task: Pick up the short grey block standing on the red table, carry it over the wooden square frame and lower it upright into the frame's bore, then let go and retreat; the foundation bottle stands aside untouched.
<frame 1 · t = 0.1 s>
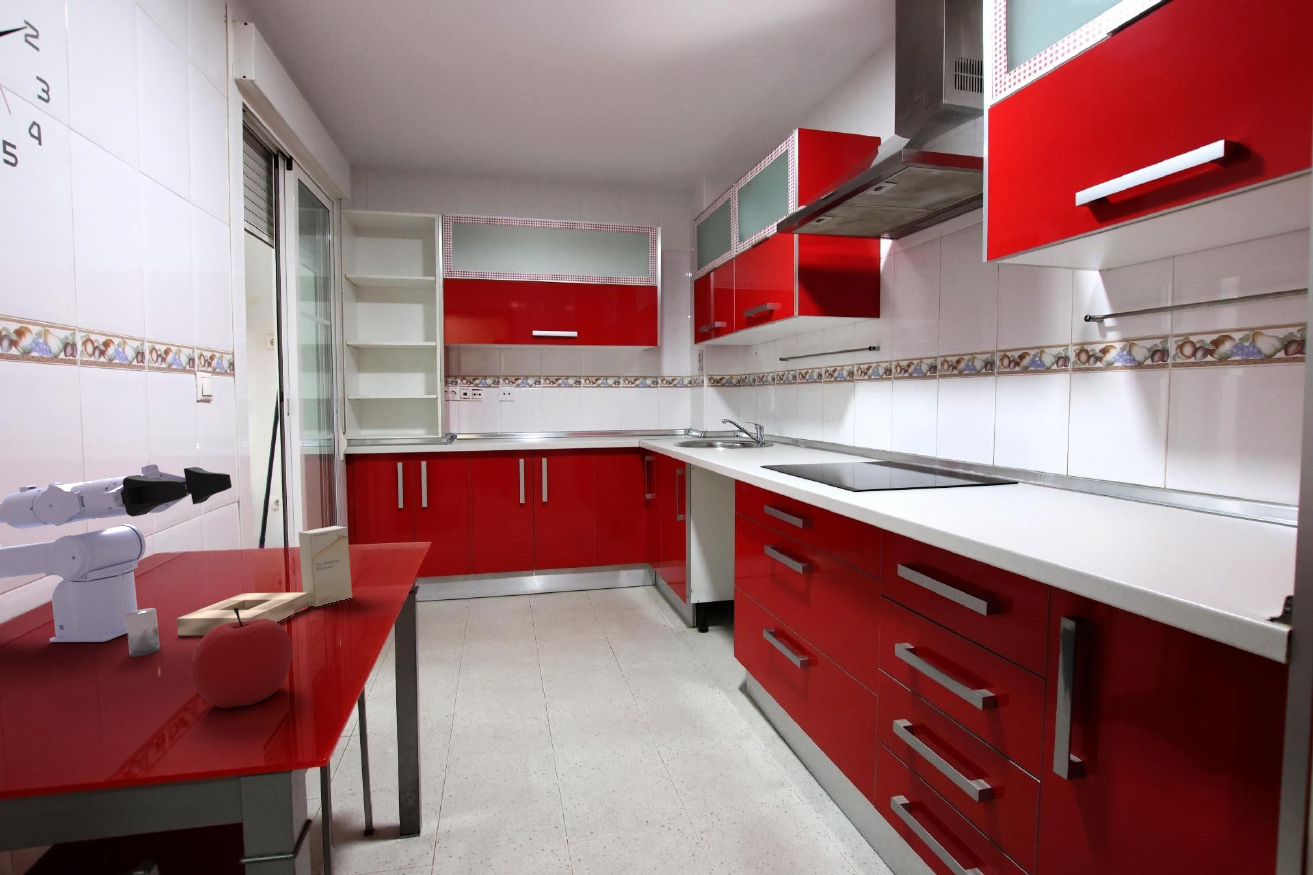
hand: (207, 484, 90), 22 cm above the table, tool horizontal, fingers open, 7 cm apart
wooden square frame: (247, 620, 96), on the table
grey block: (145, 651, 85), on the table
apple: (247, 700, 69), on the table
skincare box: (328, 602, 104), on the table
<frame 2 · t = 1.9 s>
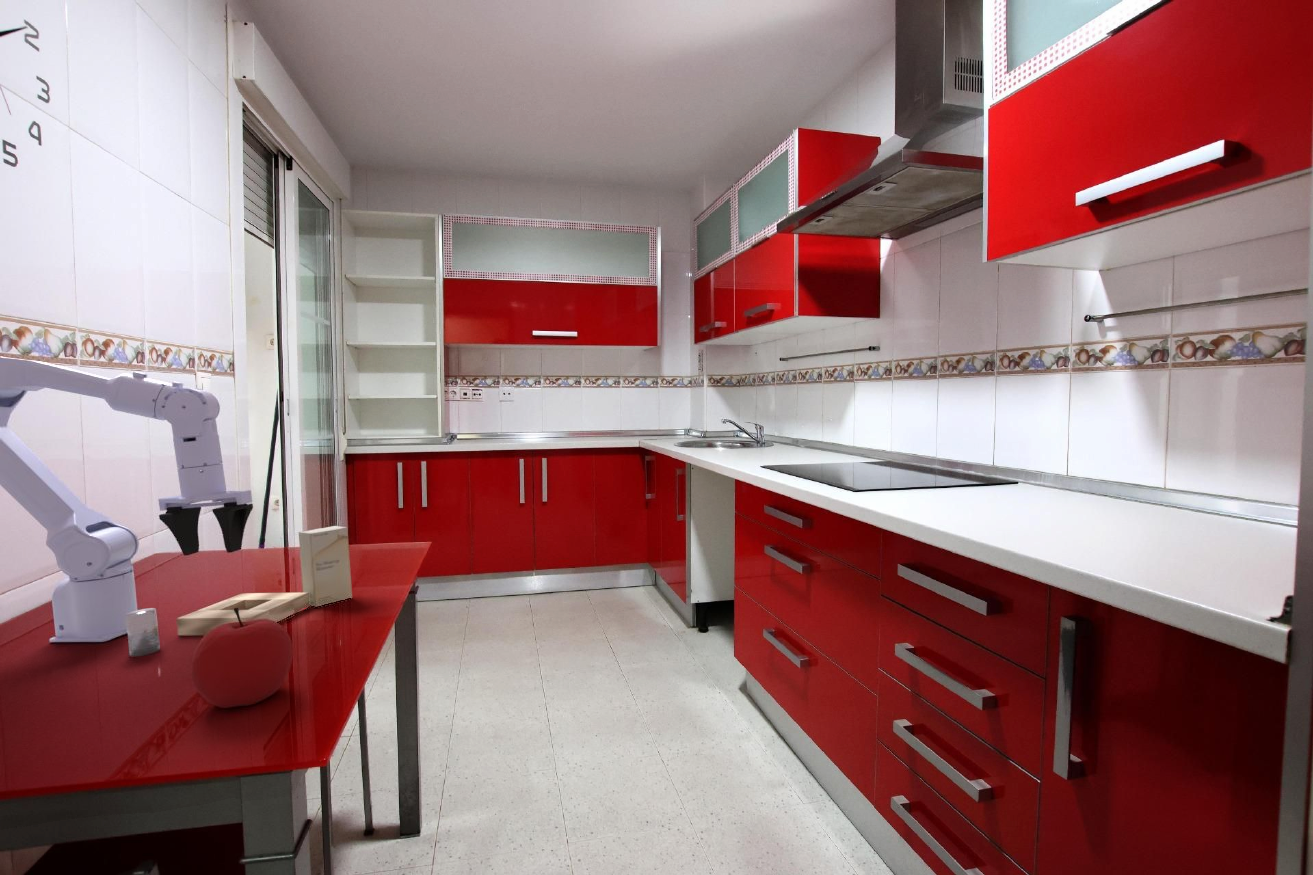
hand: (212, 552, 98), 10 cm above the table, tool pointing down, fingers open, 7 cm apart
nothing on the table moved.
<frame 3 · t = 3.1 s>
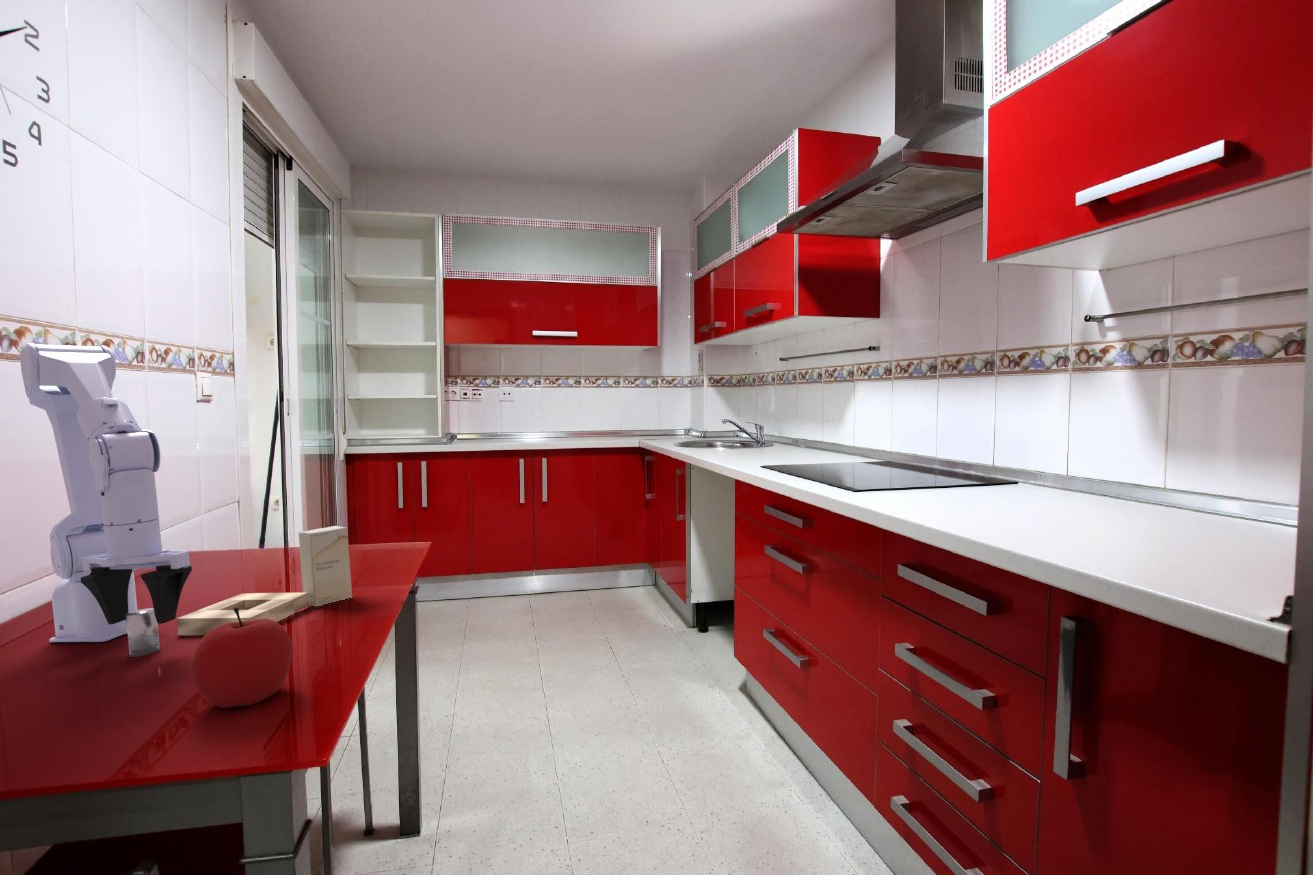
hand: (142, 621, 85), 4 cm above the table, tool pointing down, fingers open, 7 cm apart
nothing on the table moved.
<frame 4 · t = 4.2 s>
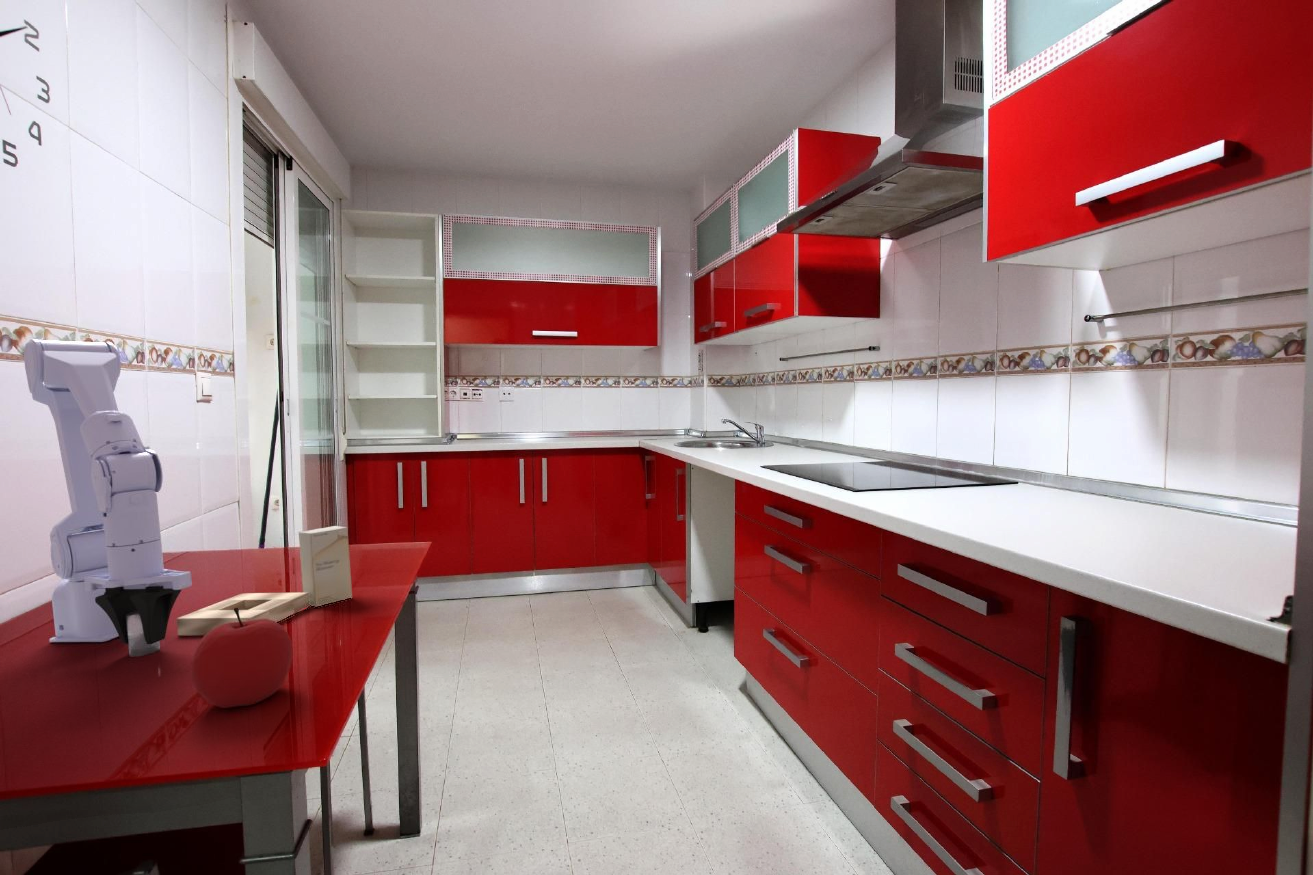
hand: (143, 641, 85), 1 cm above the table, tool pointing down, fingers closed on grey block, 3 cm apart
grey block: (145, 651, 85), on the table, touching gripper
everything else where it was.
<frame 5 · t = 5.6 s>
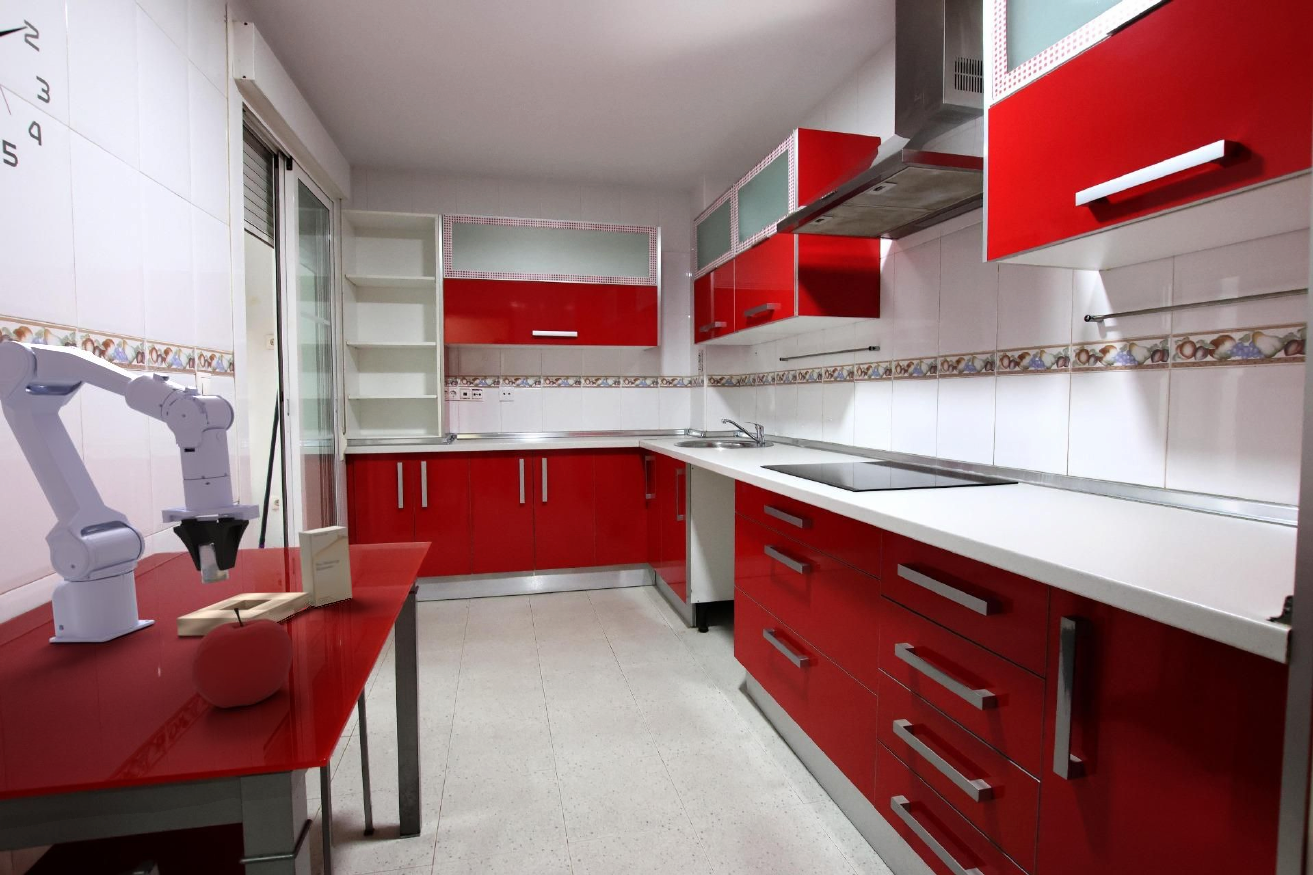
hand: (216, 569, 93), 9 cm above the table, tool pointing down, fingers closed on grey block, 3 cm apart
grey block: (215, 580, 93), point 7 cm above the table, touching gripper
everything else where it was.
when the fingers open (3 cm above the table, at t = 7.3 s): grey block drops 1 cm, resting in wooden square frame.
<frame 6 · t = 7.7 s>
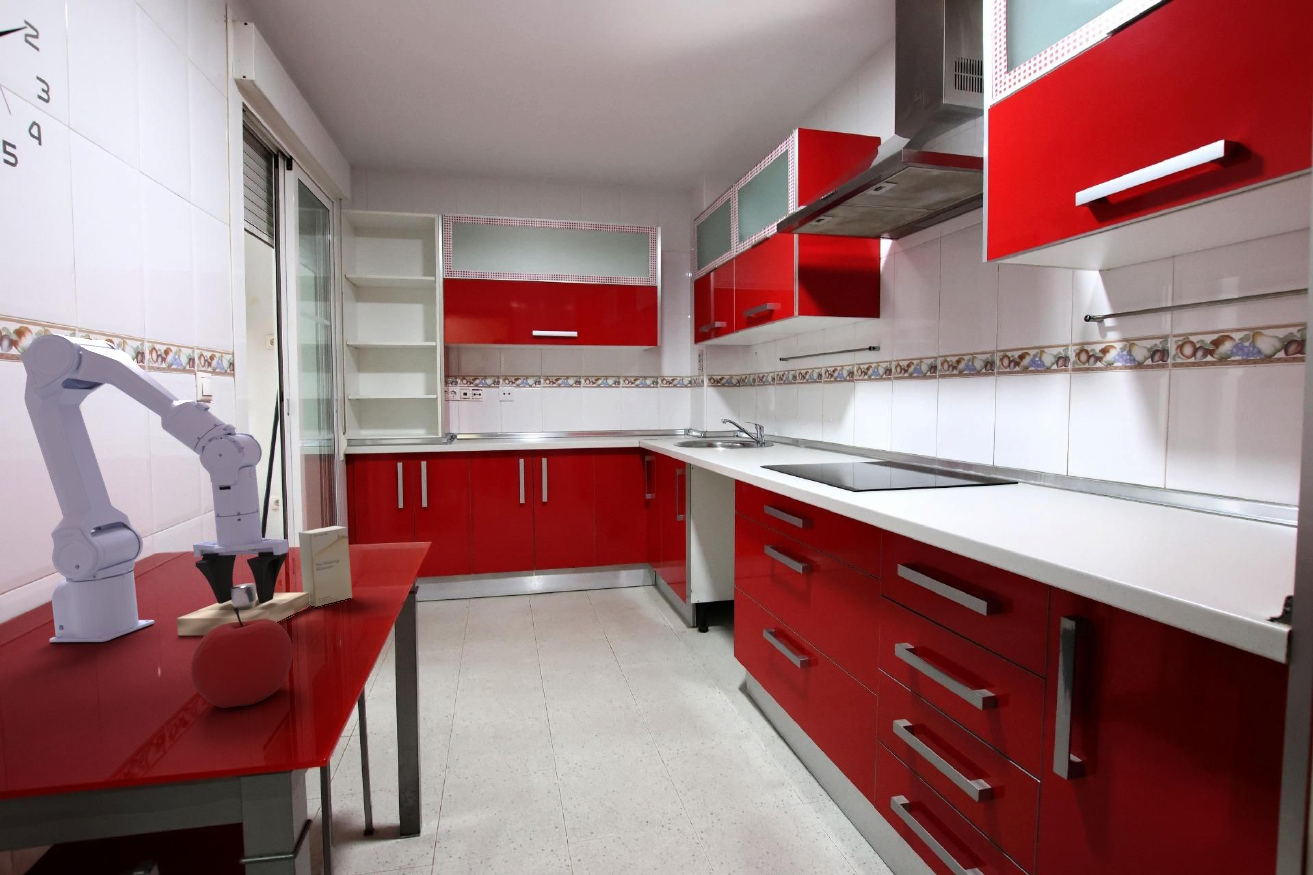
hand: (245, 601, 96), 3 cm above the table, tool pointing down, fingers open, 6 cm apart
grey block: (246, 621, 96), resting in wooden square frame
everything else where it was.
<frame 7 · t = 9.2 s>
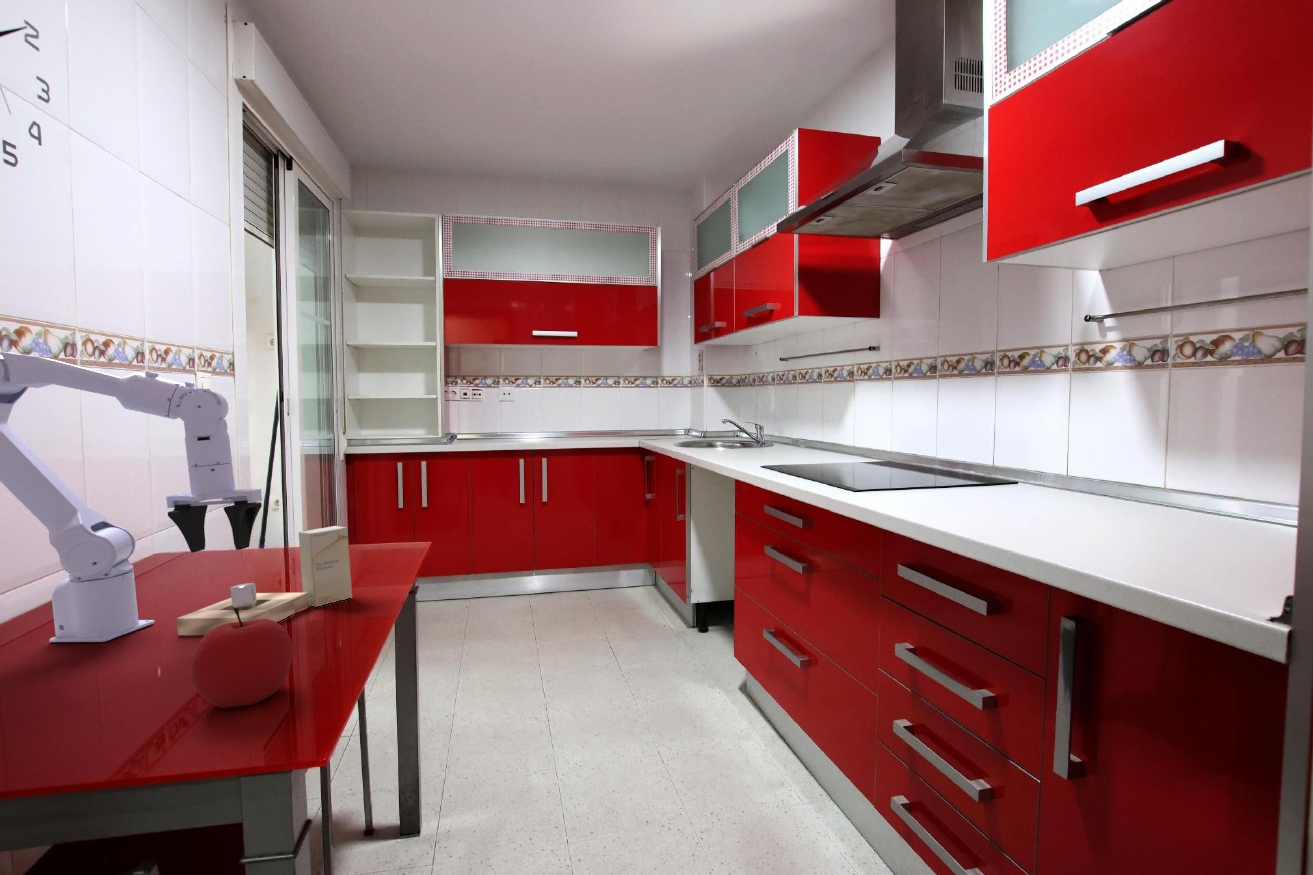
hand: (220, 549, 100), 10 cm above the table, tool pointing down, fingers open, 7 cm apart
nothing on the table moved.
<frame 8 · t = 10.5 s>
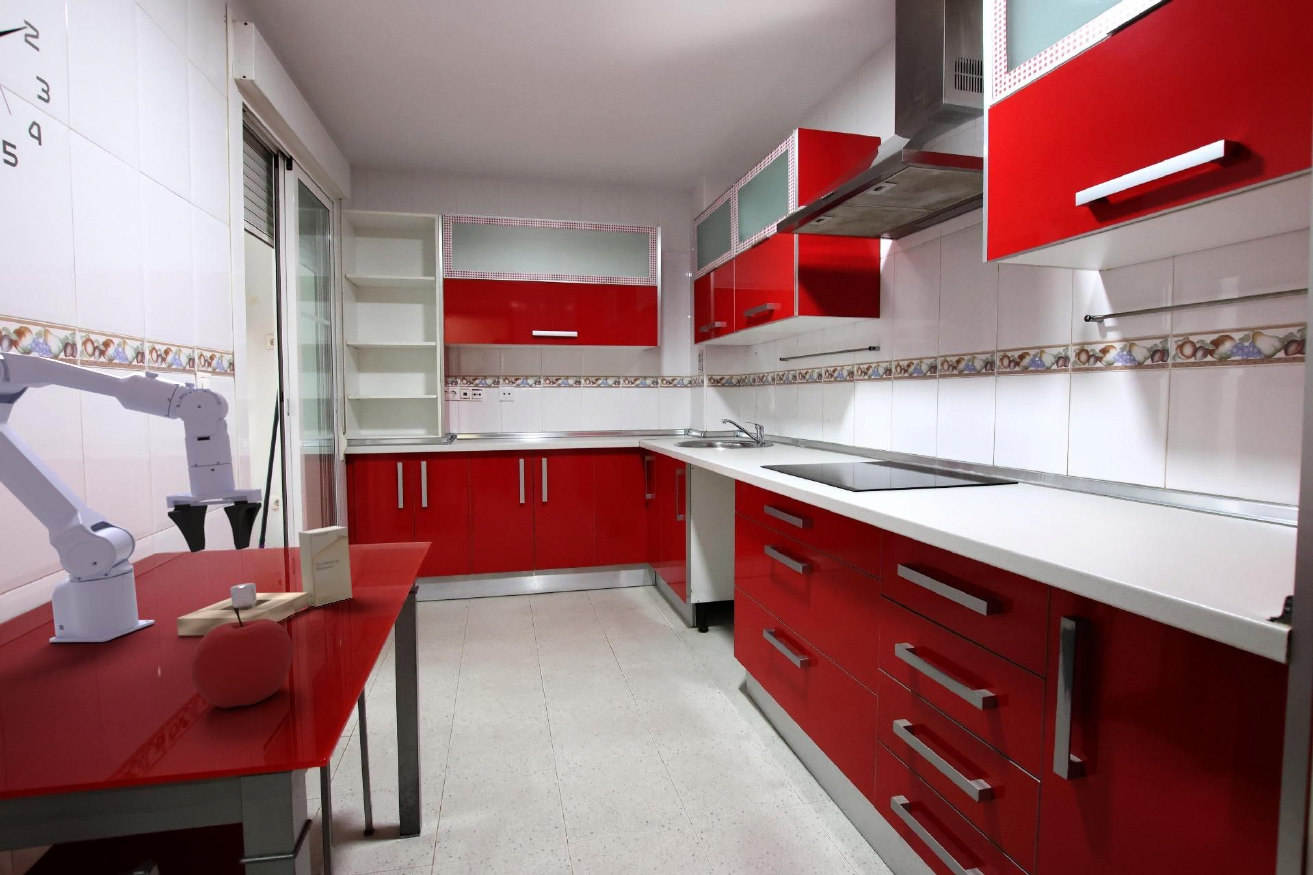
hand: (220, 549, 100), 10 cm above the table, tool pointing down, fingers open, 7 cm apart
nothing on the table moved.
at the end: grey block 0.2 cm off-centre on the wooden square frame, point 0.0 cm above the wooden square frame's base; grey block tilted 0°; the gripper is holding nothing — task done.
